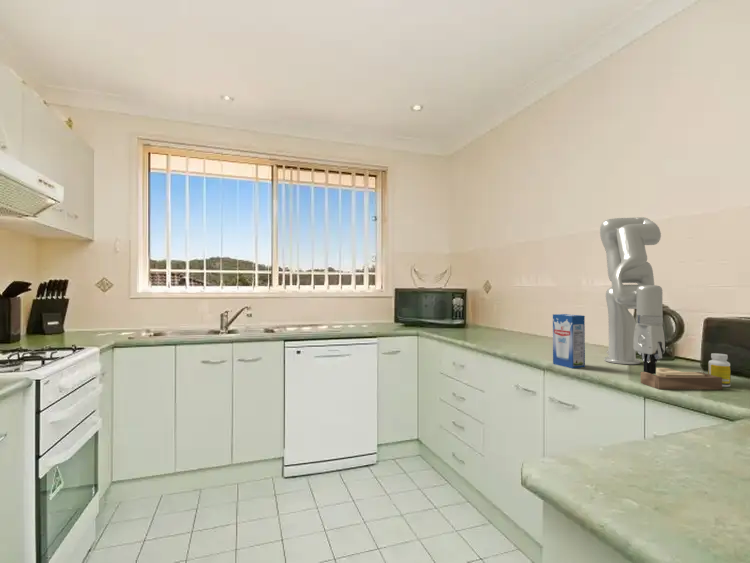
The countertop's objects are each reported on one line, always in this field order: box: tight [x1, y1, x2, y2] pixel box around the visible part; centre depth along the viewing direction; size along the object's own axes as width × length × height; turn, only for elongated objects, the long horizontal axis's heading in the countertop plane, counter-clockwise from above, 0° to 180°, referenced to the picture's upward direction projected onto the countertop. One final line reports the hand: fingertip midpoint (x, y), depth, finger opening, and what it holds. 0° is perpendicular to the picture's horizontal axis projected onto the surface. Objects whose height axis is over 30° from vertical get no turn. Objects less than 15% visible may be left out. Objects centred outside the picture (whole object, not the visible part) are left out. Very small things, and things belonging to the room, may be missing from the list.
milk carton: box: [552, 313, 586, 369], centre depth 159 cm, size 10×6×20 cm, turn 20°
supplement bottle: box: [707, 352, 732, 388], centre depth 127 cm, size 5×5×10 cm
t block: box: [655, 367, 705, 377], centre depth 129 cm, size 10×12×4 cm
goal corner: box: [640, 371, 723, 390], centre depth 126 cm, size 8×19×4 cm, turn 90°
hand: (649, 373), depth 140 cm, fingers closed
